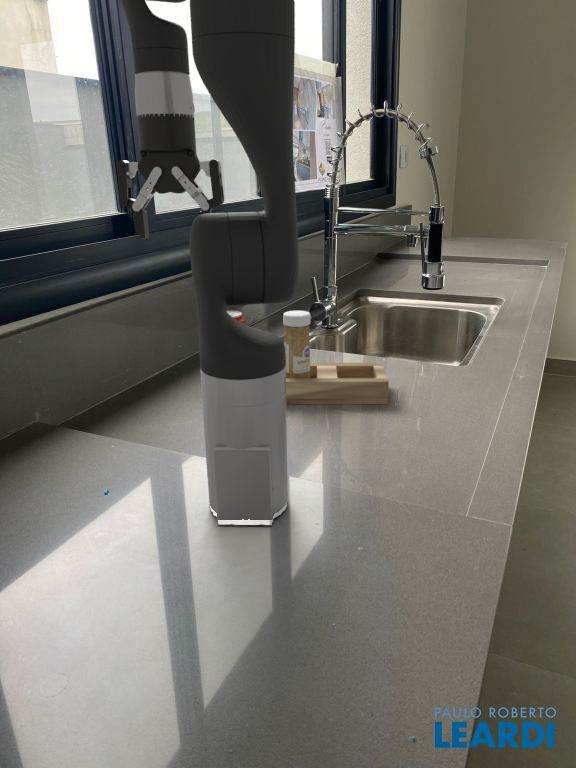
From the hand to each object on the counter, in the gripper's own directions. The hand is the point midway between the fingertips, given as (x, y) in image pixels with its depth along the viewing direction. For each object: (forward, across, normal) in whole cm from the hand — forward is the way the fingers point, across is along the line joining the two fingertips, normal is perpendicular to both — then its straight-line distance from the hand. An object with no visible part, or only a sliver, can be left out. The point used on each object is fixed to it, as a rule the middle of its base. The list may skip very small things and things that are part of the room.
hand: (174, 238), depth 86 cm
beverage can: (+28, +4, +22) cm, 36 cm away
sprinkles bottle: (+27, +17, +12) cm, 34 cm away
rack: (+28, +22, +12) cm, 38 cm away
